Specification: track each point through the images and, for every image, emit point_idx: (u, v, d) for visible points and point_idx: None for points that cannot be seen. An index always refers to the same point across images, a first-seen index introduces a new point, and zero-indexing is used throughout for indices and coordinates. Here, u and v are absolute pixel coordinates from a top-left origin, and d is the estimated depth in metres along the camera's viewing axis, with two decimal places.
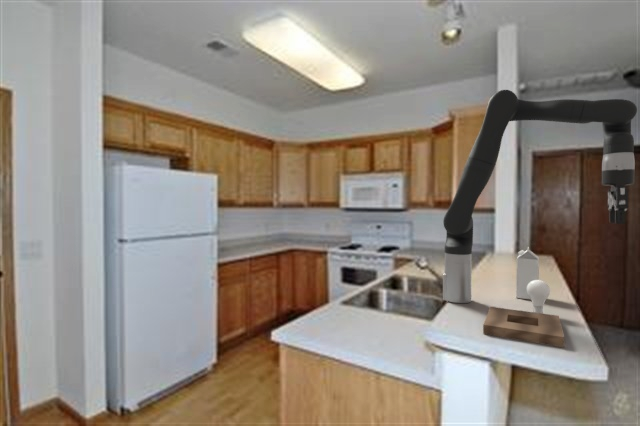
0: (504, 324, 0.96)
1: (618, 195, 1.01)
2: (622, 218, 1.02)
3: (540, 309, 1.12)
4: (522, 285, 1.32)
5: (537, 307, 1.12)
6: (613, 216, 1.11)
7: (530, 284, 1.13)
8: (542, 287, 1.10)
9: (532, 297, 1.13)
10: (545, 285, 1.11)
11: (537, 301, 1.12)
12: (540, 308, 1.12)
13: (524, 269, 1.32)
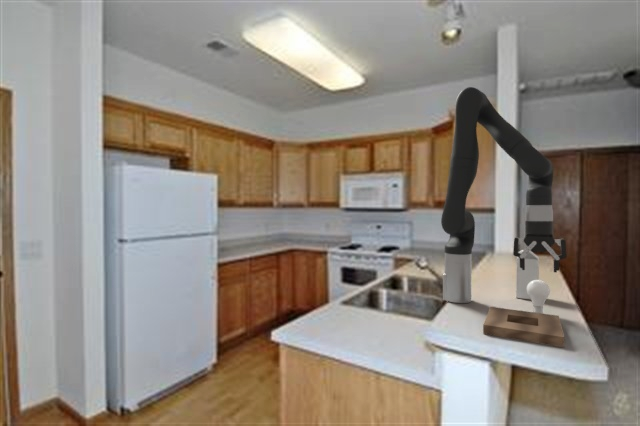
0: (504, 324, 0.96)
1: (565, 246, 1.09)
2: (558, 266, 1.11)
3: (540, 309, 1.12)
4: (522, 285, 1.32)
5: (537, 307, 1.12)
6: (524, 263, 1.15)
7: (530, 284, 1.13)
8: (542, 287, 1.10)
9: (532, 297, 1.13)
10: (545, 285, 1.11)
11: (537, 301, 1.12)
12: (540, 308, 1.12)
13: None
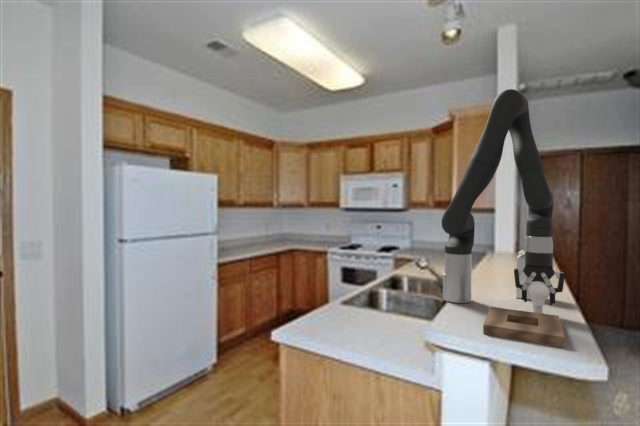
0: (504, 324, 0.96)
1: (563, 280, 1.09)
2: (554, 299, 1.11)
3: (540, 309, 1.12)
4: None
5: (537, 307, 1.12)
6: (526, 295, 1.15)
7: (530, 284, 1.13)
8: (542, 287, 1.10)
9: (532, 297, 1.13)
10: (545, 285, 1.11)
11: (537, 301, 1.12)
12: (540, 308, 1.12)
13: None
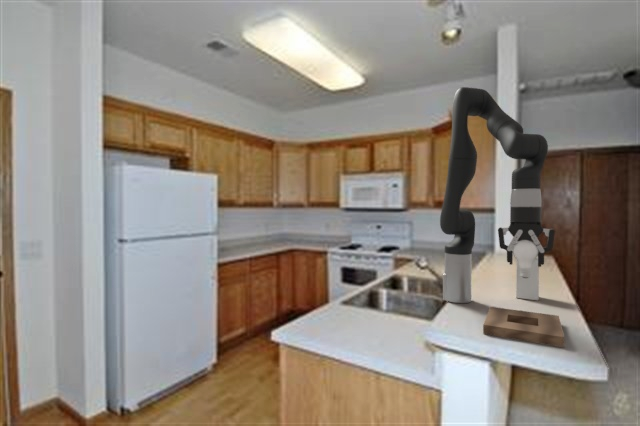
0: (504, 324, 0.96)
1: (553, 237, 0.96)
2: (543, 260, 0.98)
3: (527, 272, 0.99)
4: (522, 285, 1.32)
5: (524, 269, 0.99)
6: (512, 257, 1.01)
7: (516, 244, 1.00)
8: (529, 245, 0.97)
9: (518, 258, 0.99)
10: (533, 244, 0.98)
11: (524, 262, 0.99)
12: (527, 270, 0.99)
13: None
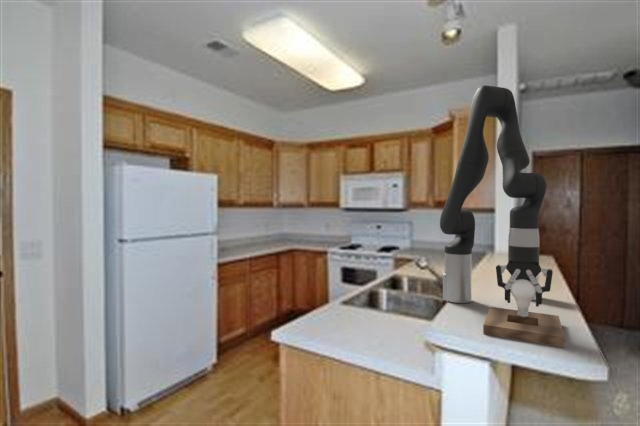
0: (504, 324, 0.96)
1: (551, 278, 0.96)
2: (541, 300, 0.98)
3: (525, 311, 0.98)
4: None
5: (522, 309, 0.99)
6: None
7: (514, 283, 1.00)
8: (527, 285, 0.97)
9: (516, 297, 0.99)
10: (530, 284, 0.97)
11: (522, 302, 0.98)
12: (525, 310, 0.98)
13: None
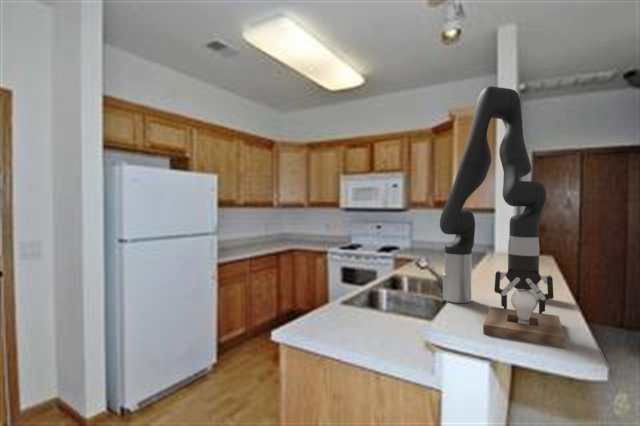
0: (504, 324, 0.96)
1: (552, 284, 0.95)
2: (544, 307, 0.97)
3: (526, 323, 0.98)
4: None
5: (522, 321, 0.99)
6: (506, 301, 1.02)
7: (515, 294, 0.99)
8: (528, 298, 0.97)
9: (517, 309, 0.99)
10: (531, 296, 0.97)
11: (522, 314, 0.98)
12: (526, 322, 0.98)
13: None
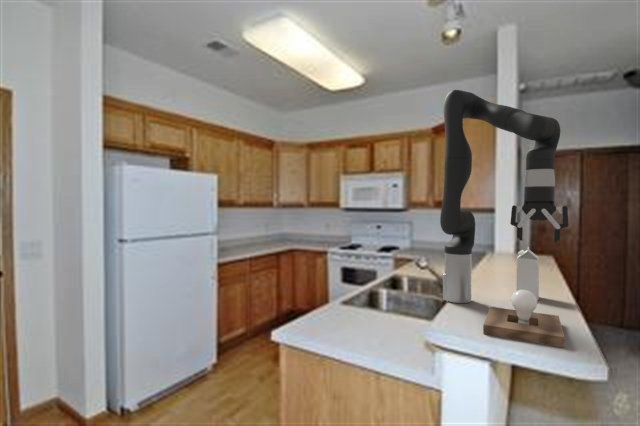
0: (504, 324, 0.96)
1: (567, 213, 1.00)
2: (559, 236, 1.02)
3: (526, 323, 0.98)
4: (522, 285, 1.32)
5: (522, 321, 0.99)
6: (522, 233, 1.06)
7: (515, 294, 1.00)
8: (528, 298, 0.97)
9: (517, 309, 0.99)
10: (531, 296, 0.97)
11: (522, 314, 0.98)
12: (526, 322, 0.98)
13: (524, 269, 1.32)
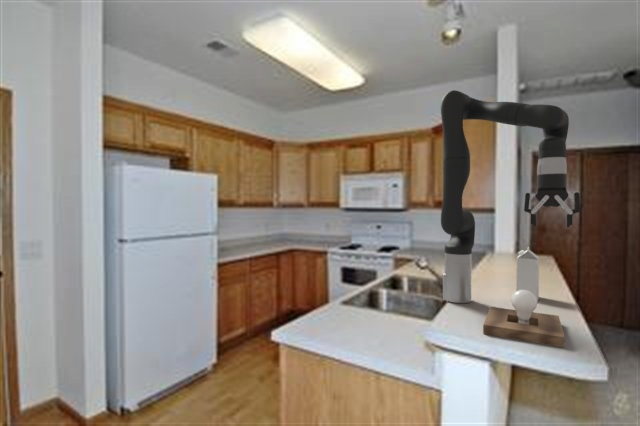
0: (504, 324, 0.96)
1: (579, 199, 1.04)
2: (571, 221, 1.06)
3: (526, 323, 0.98)
4: (522, 285, 1.32)
5: (522, 321, 0.99)
6: (535, 220, 1.11)
7: (515, 294, 0.99)
8: (528, 298, 0.97)
9: (517, 309, 0.99)
10: (531, 296, 0.97)
11: (522, 314, 0.98)
12: (526, 322, 0.98)
13: (524, 269, 1.32)
